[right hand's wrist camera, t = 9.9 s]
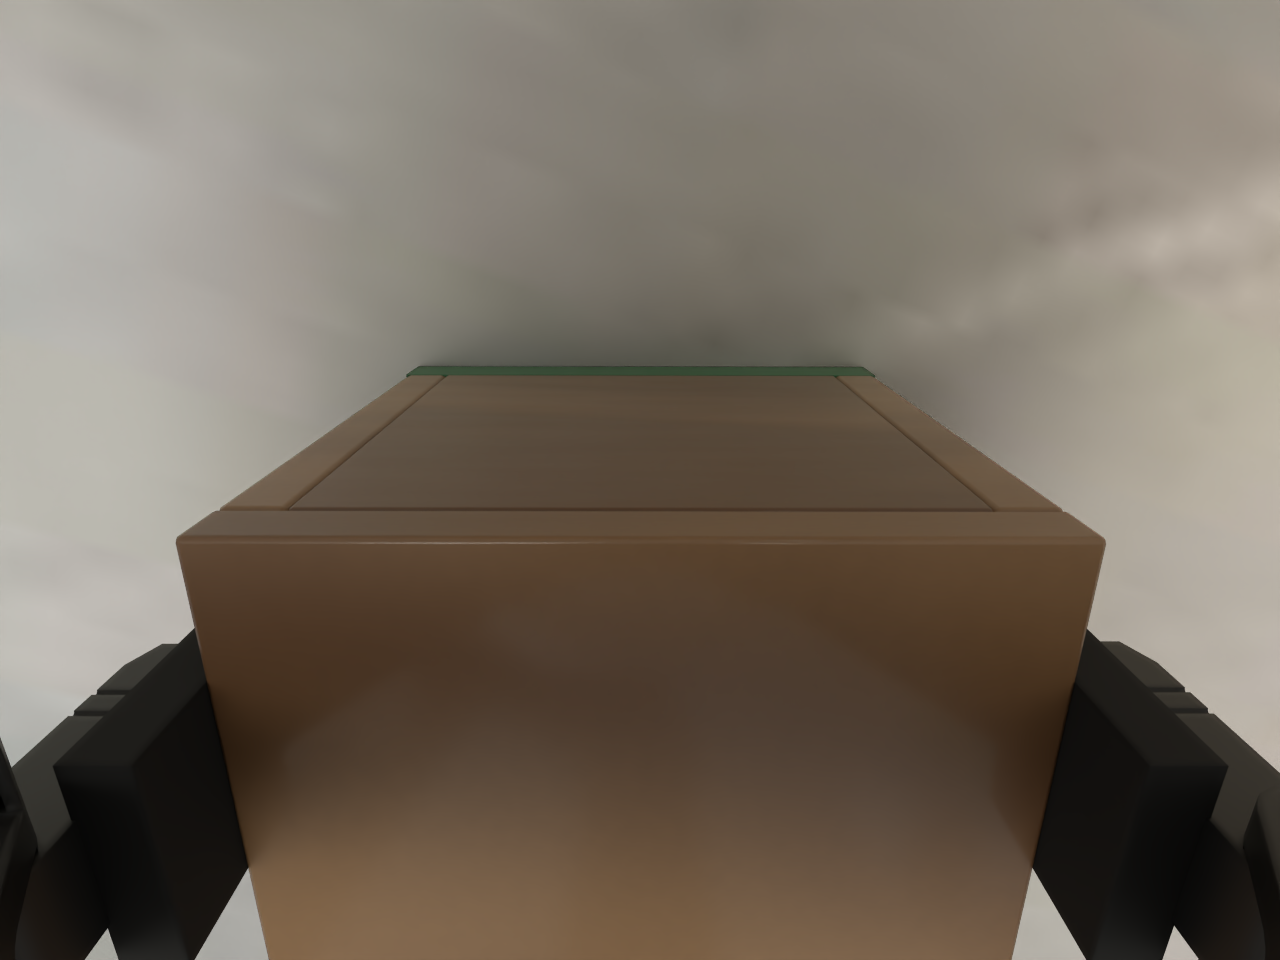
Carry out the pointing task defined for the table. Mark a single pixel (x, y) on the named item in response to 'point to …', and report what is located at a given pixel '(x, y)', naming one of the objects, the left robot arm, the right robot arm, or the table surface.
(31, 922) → the right robot arm
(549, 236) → the table surface
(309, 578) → the cabinet
